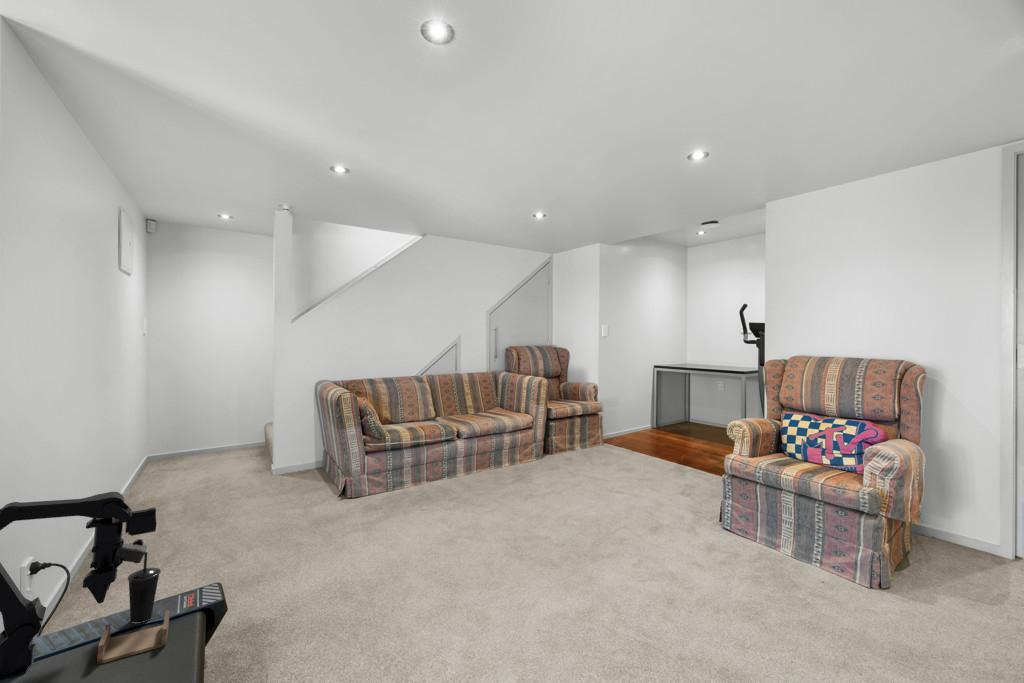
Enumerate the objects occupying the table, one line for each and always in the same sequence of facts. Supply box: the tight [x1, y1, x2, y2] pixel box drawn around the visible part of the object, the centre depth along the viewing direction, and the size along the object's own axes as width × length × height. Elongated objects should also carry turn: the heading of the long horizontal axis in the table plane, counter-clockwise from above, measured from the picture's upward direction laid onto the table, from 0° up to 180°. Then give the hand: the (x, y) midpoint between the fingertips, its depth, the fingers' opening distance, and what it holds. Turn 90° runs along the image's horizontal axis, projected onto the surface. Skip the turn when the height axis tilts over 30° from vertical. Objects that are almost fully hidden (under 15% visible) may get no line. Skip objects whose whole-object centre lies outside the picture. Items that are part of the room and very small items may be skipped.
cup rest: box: [96, 609, 171, 665], centre depth 120 cm, size 14×10×5 cm
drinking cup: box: [127, 551, 161, 623], centre depth 131 cm, size 8×8×20 cm
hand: (103, 596), depth 120 cm, fingers open, 7 cm apart
